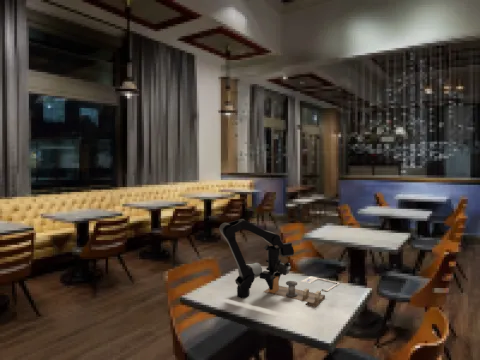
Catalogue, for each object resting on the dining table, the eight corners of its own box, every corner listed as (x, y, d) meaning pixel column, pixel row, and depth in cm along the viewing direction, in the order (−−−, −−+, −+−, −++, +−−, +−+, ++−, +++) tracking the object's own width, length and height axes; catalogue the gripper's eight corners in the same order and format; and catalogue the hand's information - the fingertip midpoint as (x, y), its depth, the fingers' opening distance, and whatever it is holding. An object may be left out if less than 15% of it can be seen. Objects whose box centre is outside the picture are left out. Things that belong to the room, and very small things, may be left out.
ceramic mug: (243, 276, 203) (243, 263, 203) (255, 273, 208) (255, 261, 207) (254, 281, 194) (254, 268, 194) (265, 278, 199) (265, 265, 198)
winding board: (315, 306, 159) (315, 290, 158) (263, 294, 174) (262, 280, 174) (325, 298, 169) (324, 283, 168) (274, 287, 184) (274, 273, 184)
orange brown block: (278, 289, 177) (278, 276, 176) (274, 293, 173) (273, 279, 172) (273, 288, 178) (273, 275, 178) (268, 291, 174) (268, 278, 174)
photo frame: (310, 275, 200) (339, 282, 188) (310, 277, 200) (339, 284, 188) (296, 282, 189) (327, 290, 177) (296, 284, 189) (327, 292, 177)
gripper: (279, 264, 162) (279, 297, 163) (295, 255, 178) (296, 285, 179) (258, 261, 169) (259, 292, 169) (276, 252, 184) (276, 281, 185)
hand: (273, 287), depth 175 cm, fingers closed on orange brown block, 5 cm apart
